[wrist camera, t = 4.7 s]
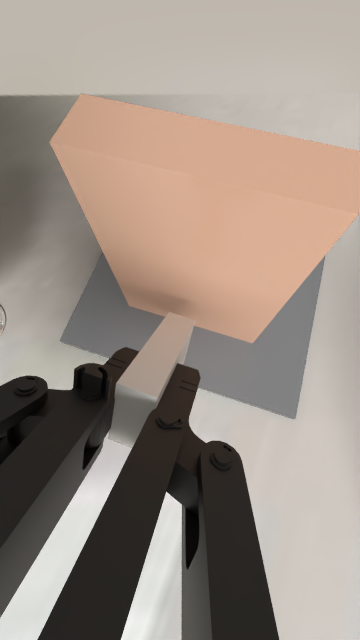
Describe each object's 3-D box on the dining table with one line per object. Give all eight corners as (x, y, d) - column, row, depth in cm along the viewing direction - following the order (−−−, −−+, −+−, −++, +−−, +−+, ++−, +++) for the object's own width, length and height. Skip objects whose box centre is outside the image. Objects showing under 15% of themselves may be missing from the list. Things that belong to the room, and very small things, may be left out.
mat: (292, 418, 20) (295, 418, 19) (62, 342, 22) (59, 340, 22) (334, 194, 27) (337, 189, 26) (154, 153, 29) (153, 148, 28)
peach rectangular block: (252, 343, 21) (359, 214, 8) (129, 305, 23) (49, 141, 9) (261, 309, 22) (369, 143, 9) (142, 275, 24) (85, 86, 10)
